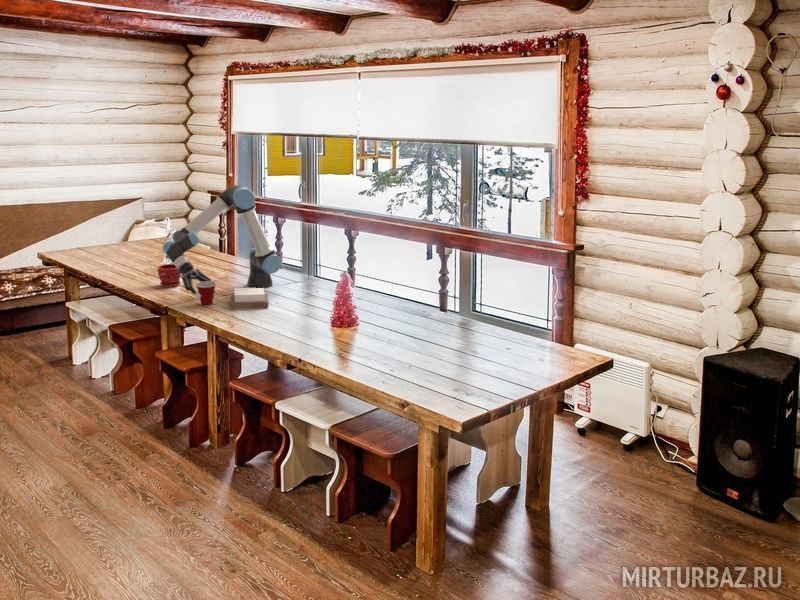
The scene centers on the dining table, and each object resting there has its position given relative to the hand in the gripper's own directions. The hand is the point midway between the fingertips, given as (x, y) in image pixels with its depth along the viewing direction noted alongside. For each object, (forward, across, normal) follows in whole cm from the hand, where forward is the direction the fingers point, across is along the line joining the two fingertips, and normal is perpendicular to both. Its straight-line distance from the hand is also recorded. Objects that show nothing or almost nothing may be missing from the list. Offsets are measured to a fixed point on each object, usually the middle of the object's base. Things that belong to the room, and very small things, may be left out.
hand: (207, 295), depth 438 cm
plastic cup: (+3, 0, -5) cm, 6 cm away
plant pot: (-29, -27, -37) cm, 54 cm away
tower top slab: (+15, -13, +12) cm, 23 cm away
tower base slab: (+17, -13, +9) cm, 23 cm away
